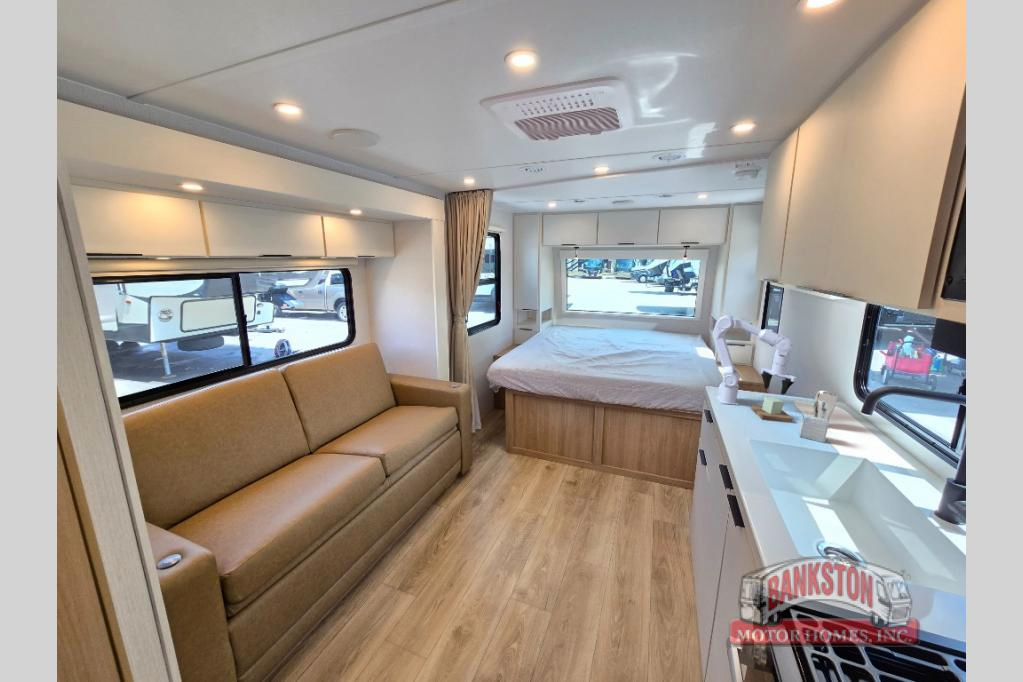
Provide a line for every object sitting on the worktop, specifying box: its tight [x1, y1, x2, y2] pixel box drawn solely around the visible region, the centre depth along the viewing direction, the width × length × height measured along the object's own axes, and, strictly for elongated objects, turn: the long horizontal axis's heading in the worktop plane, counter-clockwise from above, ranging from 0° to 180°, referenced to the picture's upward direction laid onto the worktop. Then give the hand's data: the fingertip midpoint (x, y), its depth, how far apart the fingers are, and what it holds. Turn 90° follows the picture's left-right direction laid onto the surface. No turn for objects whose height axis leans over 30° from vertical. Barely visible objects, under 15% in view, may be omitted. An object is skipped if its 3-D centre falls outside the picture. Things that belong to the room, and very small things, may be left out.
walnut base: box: [750, 404, 794, 424], centre depth 165 cm, size 12×12×2 cm
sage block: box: [762, 396, 784, 414], centre depth 164 cm, size 5×5×6 cm
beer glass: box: [813, 389, 838, 424], centre depth 155 cm, size 7×7×15 cm
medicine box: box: [798, 414, 830, 444], centre depth 144 cm, size 8×4×9 cm, turn 56°
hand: (774, 391), depth 167 cm, fingers open, 7 cm apart
